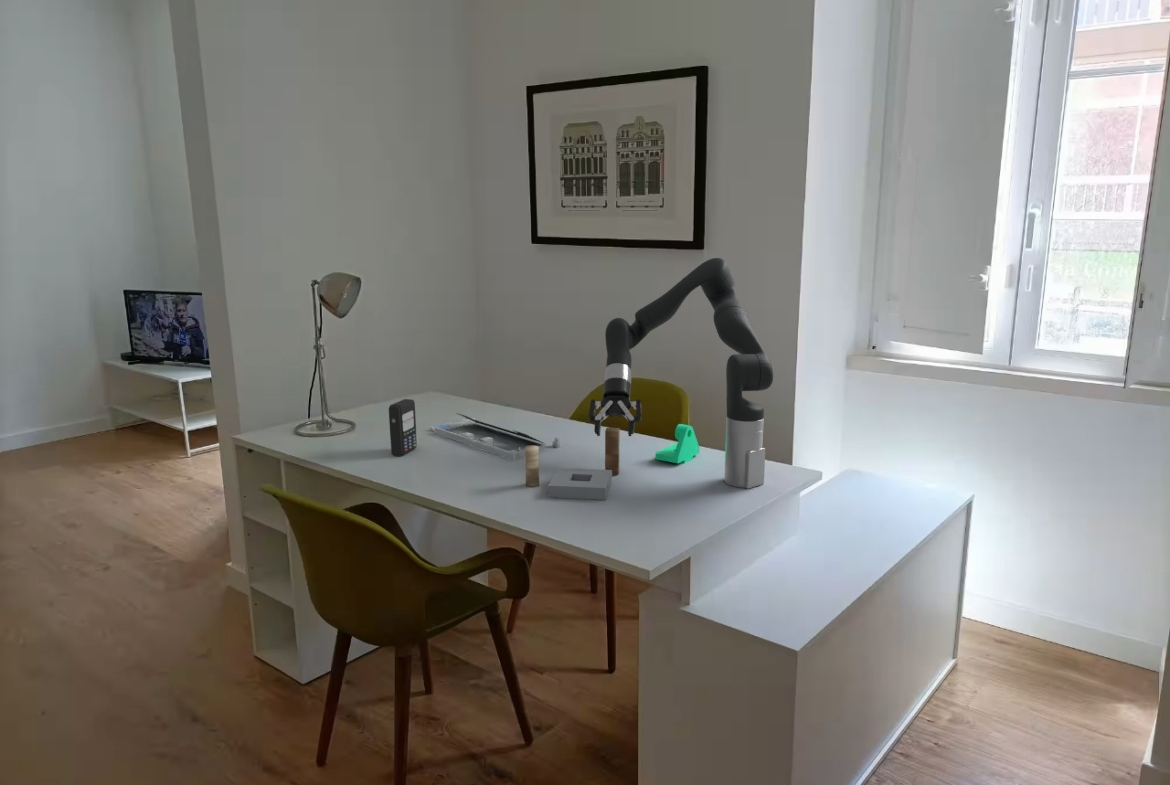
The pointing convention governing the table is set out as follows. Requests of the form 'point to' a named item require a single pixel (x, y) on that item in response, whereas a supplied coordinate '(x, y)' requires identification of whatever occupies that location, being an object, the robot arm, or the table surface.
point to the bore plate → (580, 483)
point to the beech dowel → (532, 465)
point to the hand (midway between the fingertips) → (613, 434)
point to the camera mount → (680, 446)
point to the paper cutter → (483, 442)
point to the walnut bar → (612, 450)
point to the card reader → (402, 427)
